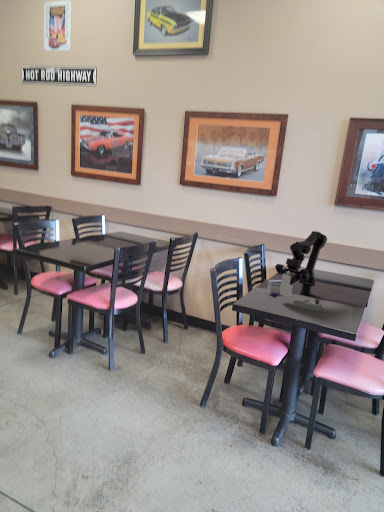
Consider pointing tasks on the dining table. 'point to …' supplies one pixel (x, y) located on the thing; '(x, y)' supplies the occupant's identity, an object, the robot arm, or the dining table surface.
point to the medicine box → (273, 287)
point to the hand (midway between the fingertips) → (286, 283)
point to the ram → (313, 302)
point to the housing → (286, 284)
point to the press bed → (301, 304)
